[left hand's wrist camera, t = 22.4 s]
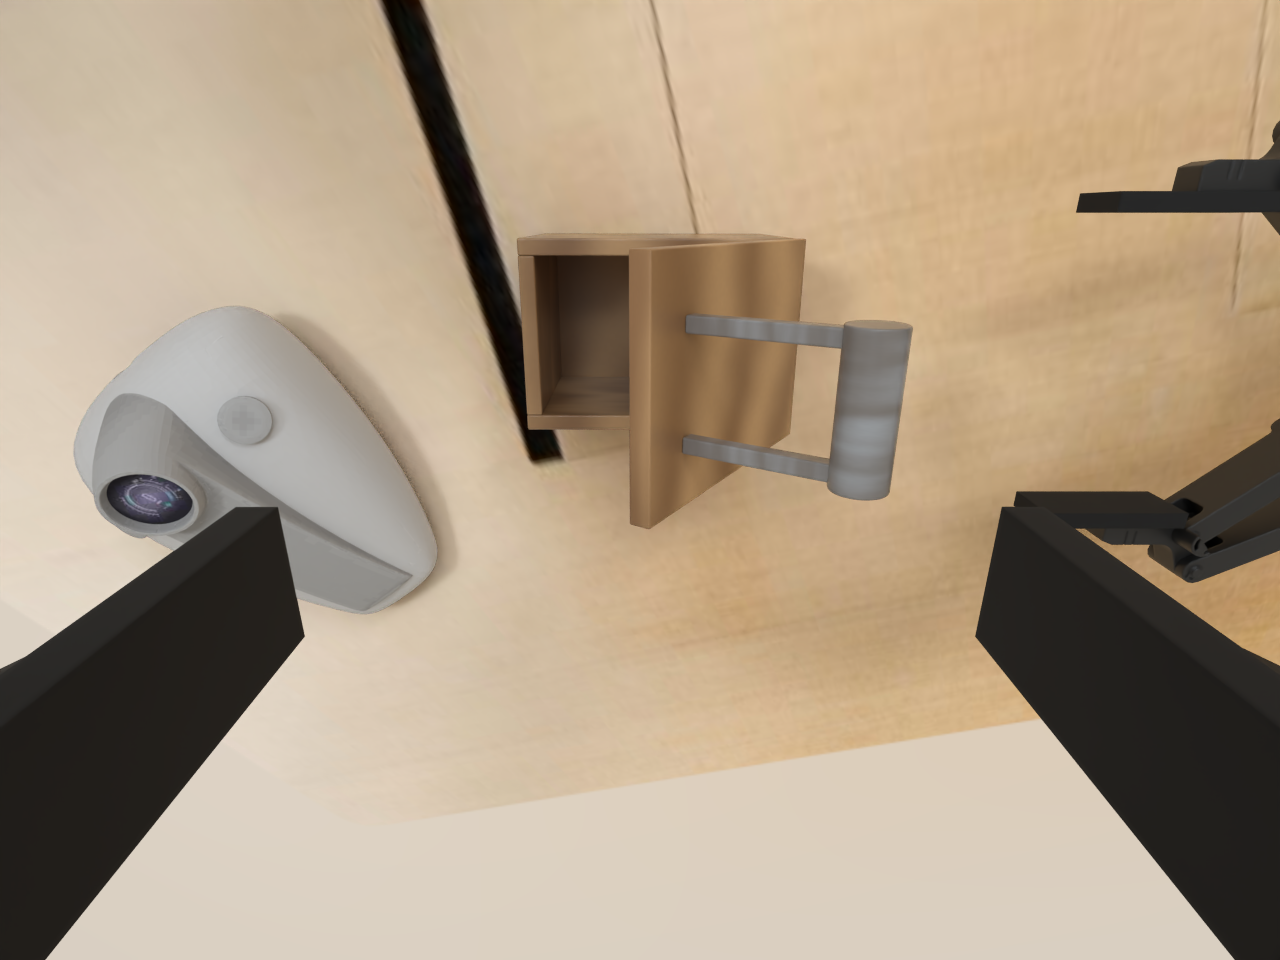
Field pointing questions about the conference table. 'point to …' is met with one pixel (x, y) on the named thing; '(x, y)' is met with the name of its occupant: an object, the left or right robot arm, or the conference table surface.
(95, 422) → the projector
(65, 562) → the conference table surface
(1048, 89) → the conference table surface
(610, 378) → the chest
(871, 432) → the lid
